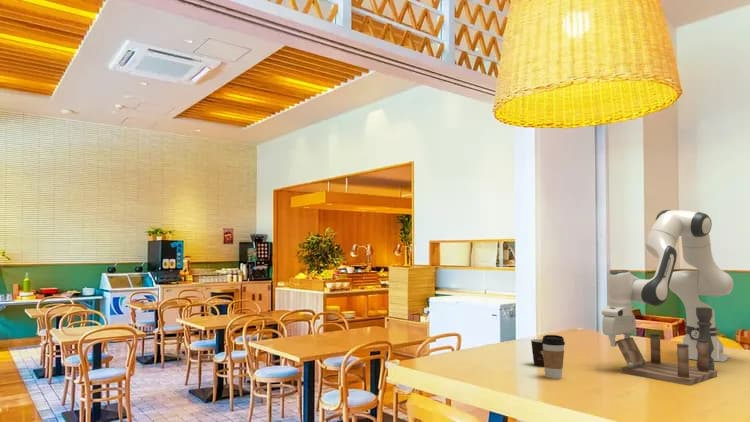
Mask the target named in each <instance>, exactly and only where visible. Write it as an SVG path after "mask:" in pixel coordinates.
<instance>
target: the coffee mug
mask: <svg viewBox="0 0 750 422" xmlns="http://www.w3.org/2000/svg"><path fill="white" fill-rule="evenodd" d="M542 340H543V338H542V339H541V338H533V339H530V343H531V350H532V351H531V352H532V360H533V366H536V367H538V368H540V367H541V368H545V367H544V358H543V344H542Z"/></svg>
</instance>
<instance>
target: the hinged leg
mask: <svg viewBox="0 0 750 422" xmlns="http://www.w3.org/2000/svg"><path fill="white" fill-rule="evenodd" d="M615 341H616V343H617V347H618V348H619V350H620V352H621V354H622V356H623V358H624V360H625V362H626V365H627V366H629V367H630V368H633V367H637V366H641V365H645V364H646V362H647V361H646V360H645V358H644V356H643V355H642V353H641V351H640V349H639V347H638V345H637V343H636V341H635V339H634V337H631V336H630V338H626V339H624V338H622V339H618V340H615Z"/></svg>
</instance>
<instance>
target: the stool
mask: <svg viewBox="0 0 750 422" xmlns="http://www.w3.org/2000/svg"><path fill="white" fill-rule="evenodd" d="M649 335H650V336H649V337H650V360H647V361H646V364H645V365H641V366H637V367H633V368H630V367H629V366H628V365H626V366H622V367H621V369H620V370H621V374H626V375H631V376H635V377H643V378H648V379H653V380H657V381H663V382H668V383H674V384H679V385H685V386H692V385H693V386H694V385H695V384H698V383H702V382H704V381H707V380H710V379H715V378H716V377H718V371H717V370H715V371H714V370H709V355H708V340H702V339H698V340H697V347H698V360H697V361H698V368H697V367H696V366H695V367H693V366H690V364H689V363H690V362H689V361H690V359H689V349H688V347H689V345H687V344H682V343H677V344H676V350H677V352H676V353H677V355H676V356H677V358H676V359H677V364H675V363H670V362H664V361H663V362H662V361H661V334H659V333H650V334H649Z"/></svg>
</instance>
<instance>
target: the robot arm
mask: <svg viewBox="0 0 750 422" xmlns="http://www.w3.org/2000/svg"><path fill="white" fill-rule="evenodd" d="M711 230H712V219H711V217H710V216H709V215H708V214H707V213H705V212H702V211H701V212H700V211H693V210H685V209H684V210H680V209H678V210H675V209H673V210H672V209H664V210H661V211H660V212H658V213H657V215H656V217H655V221H654V223H653V225H652V227H651V228H650V230H649V232H648V234H647V235H646V238H645V243H644V245H645V247H646V251H648V253H650V255H652V256H654V257H655V258H657V259H658V264H657V266H656V270H655V273H654V275H653V277H651V278H650V279H646V278H639V277H637V276H635V275H634V274H632V273H631V271H630V270H627V269H626V270H625V269H617V270H614V271H611V272H610V273H609V278H608V282H607V292H608V301H607V305H606V307H604V308H603V309H602V310H601V316H602V324H601V326H602V327H601V328H602V333H603V335H605V336H608V339H609V341H610V346H611V347H614V348H615V347H618V345H617V343H616V341H617V340H616V338H617V337H616V336H618V335H620V336H621V335H623V336H624V337H623V339H626V338H631V336H632V335H631V334H633V333H634V334H635V333H636V330H637V323H636V316H635V315H634V312H633V303H639V304H646V305H650V306H655V307H659V306H661V305H662V304H664V303H665V302H666V301H667V299H668V297H669V290H670V291H671V292H672V293H673V294H675V295H676V296H677V297H678V298H679V299H680V300H681V302H682V303H683V306H684V309H685V315H686V316H685V318H686V325H685V328H684V329H685V333H686V334H685V335H684V336H683V337H682V342H681V344H687V345H689V347H688V349H689V360H695V361H698V360H697V357H698V350H697V348H696V344H697V340H698V336H699V326H698V324H697V322H699V320H698V318H697V316H696V307H705V308H712V317H711V320H710V323H712V325H711V326H710V336H711V339H712V343H713V346H714V350H713V352H712V353H711V354H712V355H711V357H712V358H713V360H714V361H713V362H727V361H728V359H730V355H729V354H725V352H724V343H723V342H722V341H721V340H720V338H719V337H718V332H719V327H716V318H715V317H716V316H715V315H716V313H715V309H714V308H713V307H711V305H709V304H707V303H705V302H703V301H701V300H700V298H699V296H707V297H708V296H709V297H720V296H721V297H722V296H728V295H730V294H731V292H733V289H734V280H733V278H732V276H731V275H730V274H729V273H727V272H726V271H724V270H722V269H721V268H720V267H719V266H718V264H717V263H716V262H715V259H714V258H713V254H712V246H711V245H712V244H711V237H710V232H711ZM679 237H681V249H682V258H683V260H684V261H685V263H687V264H688V265H689V266H692V267H693V268H696V270H677V271H674V270H675V269H674V268H675V266H676V262H677V256H678V255H677V254H678V253H677V250H676V245H677V242H678V240H679ZM632 302H633V303H632Z"/></svg>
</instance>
